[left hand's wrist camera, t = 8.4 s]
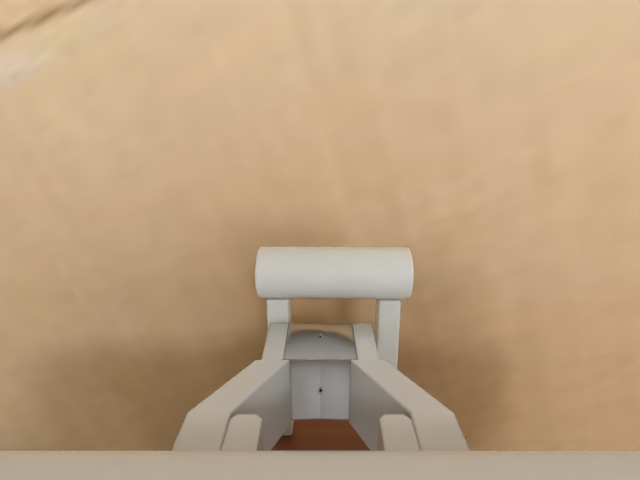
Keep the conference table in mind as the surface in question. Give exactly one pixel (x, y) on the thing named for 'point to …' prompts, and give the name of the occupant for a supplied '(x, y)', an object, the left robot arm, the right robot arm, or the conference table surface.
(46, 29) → the conference table surface
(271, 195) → the conference table surface
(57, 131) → the conference table surface
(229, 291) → the conference table surface
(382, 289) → the drawer
